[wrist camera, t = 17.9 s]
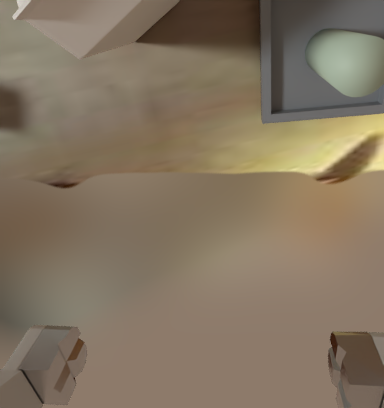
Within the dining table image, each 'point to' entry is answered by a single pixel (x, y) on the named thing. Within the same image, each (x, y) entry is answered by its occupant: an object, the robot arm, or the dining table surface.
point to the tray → (296, 64)
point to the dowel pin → (347, 60)
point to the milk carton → (92, 21)
